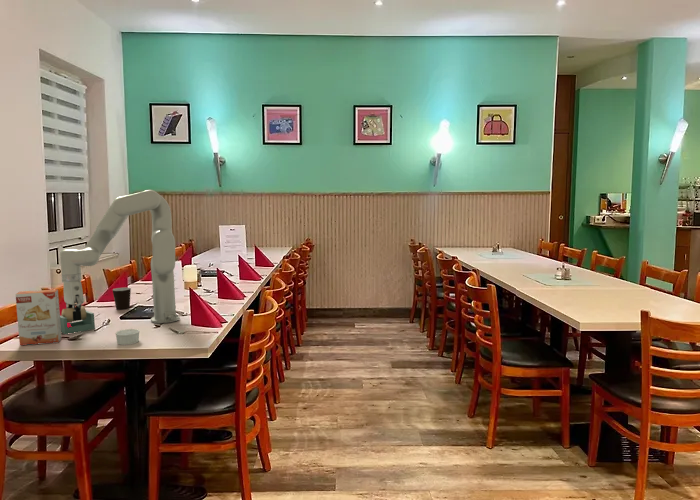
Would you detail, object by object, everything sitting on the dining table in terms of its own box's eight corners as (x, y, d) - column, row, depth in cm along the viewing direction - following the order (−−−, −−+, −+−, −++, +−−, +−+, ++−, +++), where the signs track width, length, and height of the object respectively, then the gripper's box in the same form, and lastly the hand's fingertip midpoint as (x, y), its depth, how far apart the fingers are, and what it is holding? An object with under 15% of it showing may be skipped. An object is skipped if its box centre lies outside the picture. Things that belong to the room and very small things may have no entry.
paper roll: (81, 318, 243) (80, 305, 243) (86, 320, 239) (85, 306, 239) (62, 322, 237) (60, 308, 237) (67, 323, 233) (66, 310, 233)
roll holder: (95, 328, 240) (93, 313, 239) (65, 334, 231) (63, 318, 230) (85, 325, 247) (84, 309, 246) (56, 330, 238) (54, 315, 237)
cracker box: (19, 346, 215) (14, 293, 212) (23, 342, 221) (19, 291, 218) (58, 343, 219) (54, 291, 216) (62, 339, 225) (58, 288, 222)
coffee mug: (127, 310, 276) (126, 290, 275) (110, 310, 276) (109, 290, 275) (137, 305, 287) (135, 286, 286) (120, 305, 288) (119, 286, 287)
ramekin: (143, 339, 223) (142, 328, 222) (135, 345, 214) (134, 334, 213) (121, 339, 222) (120, 329, 222) (112, 346, 214) (111, 335, 213)
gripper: (88, 278, 233) (91, 320, 235) (72, 274, 245) (75, 314, 247) (70, 281, 228) (73, 323, 230) (54, 276, 239) (57, 317, 241)
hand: (74, 318), depth 238 cm, fingers closed on paper roll, 6 cm apart
